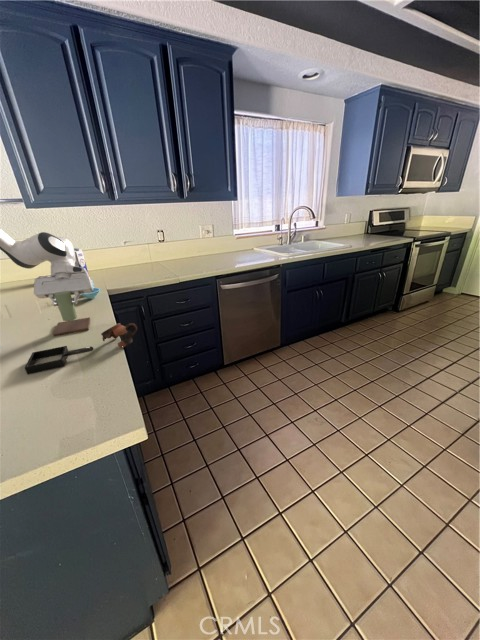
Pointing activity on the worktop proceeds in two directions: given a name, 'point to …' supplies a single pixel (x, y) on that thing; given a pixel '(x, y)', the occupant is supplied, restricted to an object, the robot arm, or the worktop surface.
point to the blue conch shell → (93, 294)
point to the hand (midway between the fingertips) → (65, 304)
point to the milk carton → (80, 259)
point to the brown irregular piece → (121, 333)
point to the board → (72, 326)
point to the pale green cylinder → (66, 305)
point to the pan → (50, 365)
